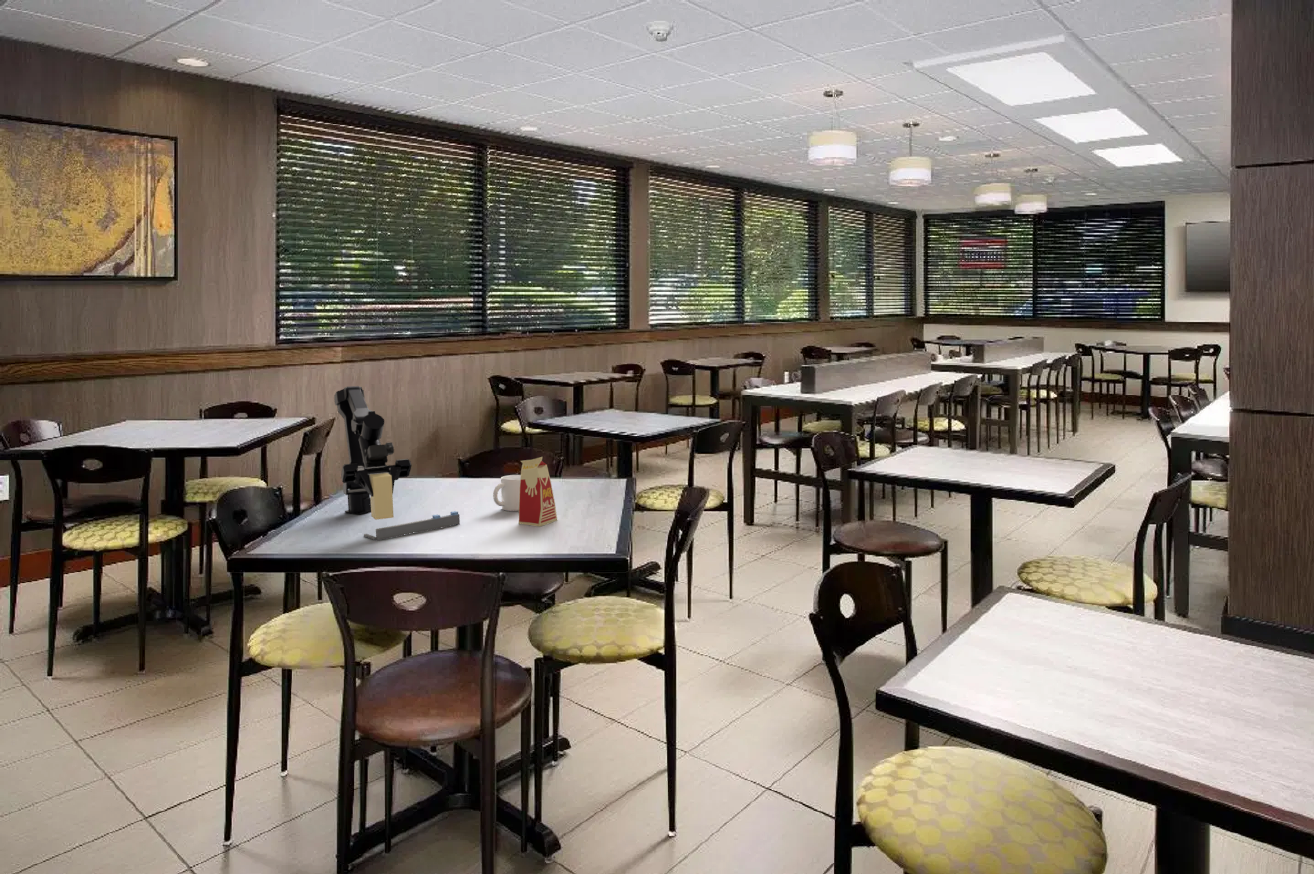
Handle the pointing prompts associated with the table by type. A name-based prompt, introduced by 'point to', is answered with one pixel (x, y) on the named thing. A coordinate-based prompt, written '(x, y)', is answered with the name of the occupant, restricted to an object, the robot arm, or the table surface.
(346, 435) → the robot arm
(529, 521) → the milk carton
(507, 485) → the mug
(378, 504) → the wooden block
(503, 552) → the table surface
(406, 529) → the gray bench frame
